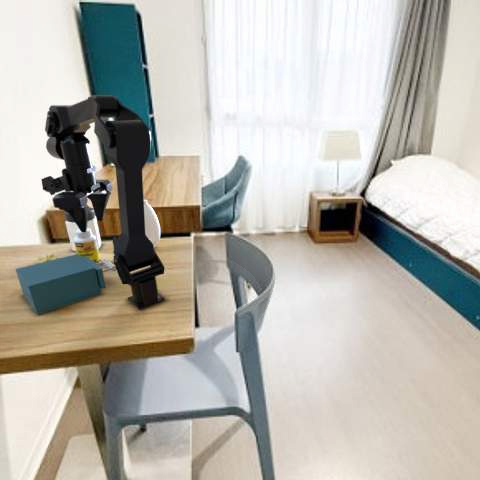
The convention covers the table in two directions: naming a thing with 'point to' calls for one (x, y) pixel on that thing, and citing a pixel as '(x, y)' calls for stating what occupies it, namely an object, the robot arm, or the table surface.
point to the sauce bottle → (151, 224)
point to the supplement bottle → (87, 245)
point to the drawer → (99, 270)
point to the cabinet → (58, 283)
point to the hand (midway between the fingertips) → (92, 226)
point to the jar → (73, 227)
